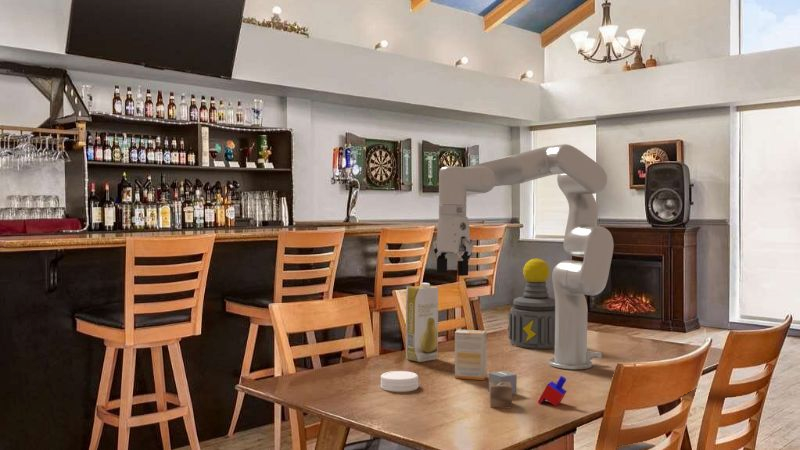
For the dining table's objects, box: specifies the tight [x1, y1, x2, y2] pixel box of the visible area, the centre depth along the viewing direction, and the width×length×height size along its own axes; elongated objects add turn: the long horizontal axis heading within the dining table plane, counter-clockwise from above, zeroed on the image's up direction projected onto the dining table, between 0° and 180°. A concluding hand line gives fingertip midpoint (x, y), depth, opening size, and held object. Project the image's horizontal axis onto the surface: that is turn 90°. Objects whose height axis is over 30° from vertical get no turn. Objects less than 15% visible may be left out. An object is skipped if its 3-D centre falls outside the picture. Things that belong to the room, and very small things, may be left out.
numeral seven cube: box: [488, 382, 513, 409], centre depth 168 cm, size 5×5×5 cm
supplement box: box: [454, 329, 488, 381], centre depth 195 cm, size 8×5×13 cm, turn 71°
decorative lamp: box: [507, 258, 555, 350], centre depth 244 cm, size 19×19×30 cm
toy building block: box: [537, 376, 567, 407], centre depth 169 cm, size 4×4×8 cm
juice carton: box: [405, 282, 439, 363], centre depth 218 cm, size 9×8×24 cm
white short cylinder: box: [380, 370, 419, 393], centre depth 184 cm, size 10×10×4 cm
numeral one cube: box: [488, 370, 518, 395], centre depth 179 cm, size 5×5×5 cm
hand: (452, 274), depth 192 cm, fingers open, 9 cm apart
